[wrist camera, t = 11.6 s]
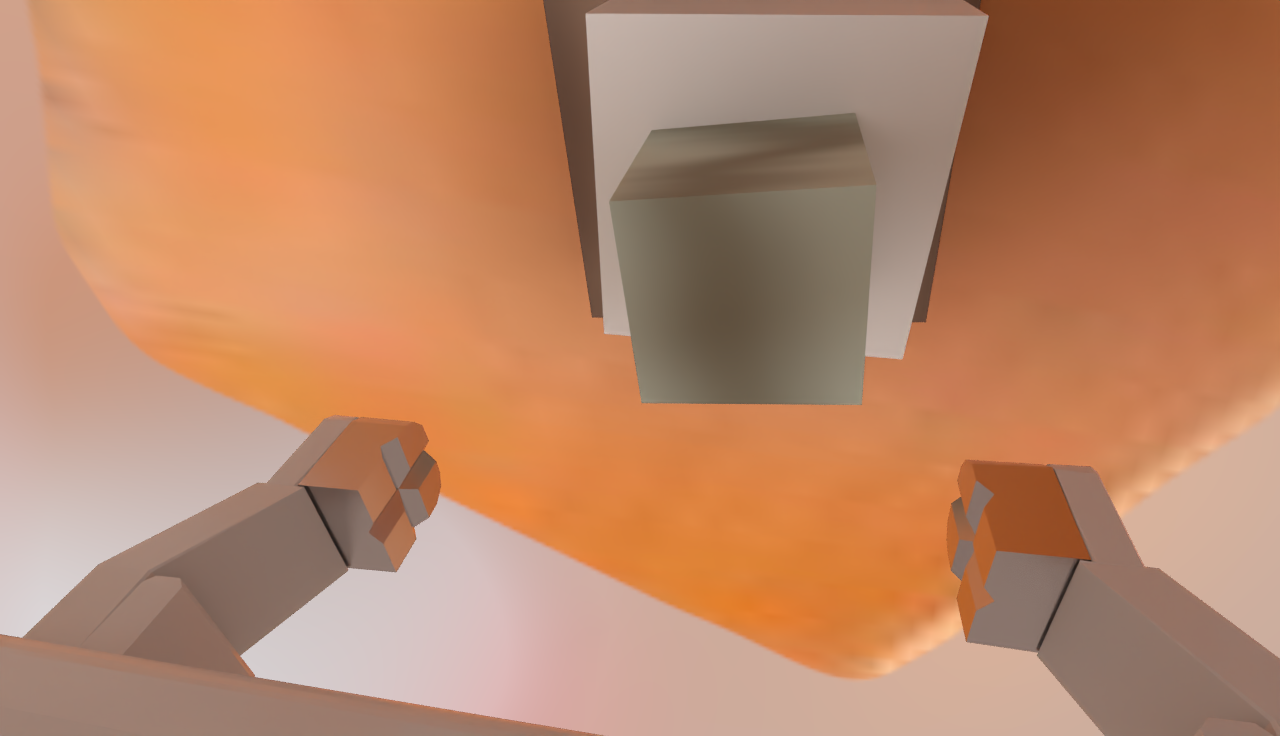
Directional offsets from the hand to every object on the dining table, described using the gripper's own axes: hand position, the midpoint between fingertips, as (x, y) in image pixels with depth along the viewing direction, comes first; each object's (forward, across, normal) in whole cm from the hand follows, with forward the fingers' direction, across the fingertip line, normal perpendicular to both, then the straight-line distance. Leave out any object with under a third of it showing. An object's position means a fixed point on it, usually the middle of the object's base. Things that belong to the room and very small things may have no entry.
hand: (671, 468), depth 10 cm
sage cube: (+10, -1, 0) cm, 10 cm away
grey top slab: (+14, -1, 0) cm, 14 cm away
